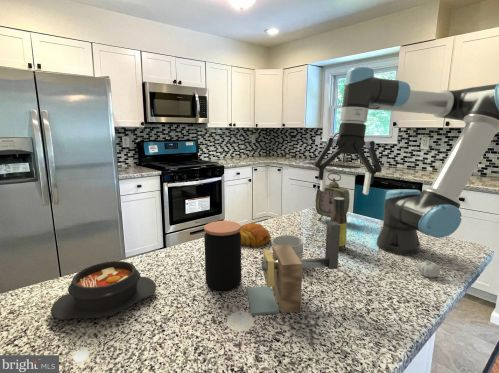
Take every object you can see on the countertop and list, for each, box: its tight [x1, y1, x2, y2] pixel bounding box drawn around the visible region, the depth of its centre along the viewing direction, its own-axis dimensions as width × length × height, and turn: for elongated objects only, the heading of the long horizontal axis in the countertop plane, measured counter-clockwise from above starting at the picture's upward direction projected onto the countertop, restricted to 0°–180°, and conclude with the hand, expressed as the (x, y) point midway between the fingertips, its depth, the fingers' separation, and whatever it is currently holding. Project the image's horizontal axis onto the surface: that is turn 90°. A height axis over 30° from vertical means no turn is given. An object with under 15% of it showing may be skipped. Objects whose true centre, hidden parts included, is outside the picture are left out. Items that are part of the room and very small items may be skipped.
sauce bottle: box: [329, 197, 348, 251], centre depth 111 cm, size 6×6×20 cm
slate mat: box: [246, 285, 280, 316], centre depth 78 cm, size 7×12×1 cm, turn 7°
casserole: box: [50, 260, 157, 321], centre depth 77 cm, size 25×19×8 cm
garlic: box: [417, 260, 441, 278], centre depth 91 cm, size 6×5×5 cm
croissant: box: [240, 222, 272, 248], centre depth 120 cm, size 14×16×8 cm
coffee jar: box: [203, 220, 242, 293], centre depth 85 cm, size 11×11×18 cm
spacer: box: [262, 249, 274, 288], centre depth 76 cm, size 2×7×7 cm, turn 7°
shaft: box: [260, 221, 340, 272], centre depth 76 cm, size 20×3×12 cm, turn 97°
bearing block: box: [271, 245, 303, 314], centre depth 78 cm, size 5×12×13 cm, turn 7°
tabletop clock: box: [315, 172, 350, 221], centre depth 143 cm, size 14×9×25 cm, turn 50°
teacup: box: [271, 233, 304, 259], centre depth 102 cm, size 14×11×8 cm
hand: (343, 192), depth 90 cm, fingers open, 13 cm apart
